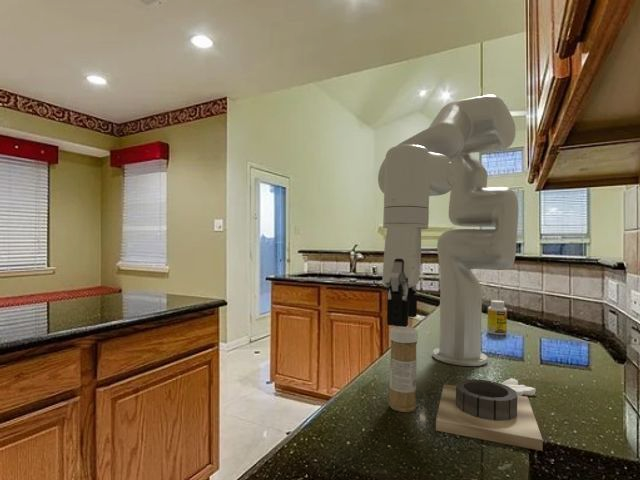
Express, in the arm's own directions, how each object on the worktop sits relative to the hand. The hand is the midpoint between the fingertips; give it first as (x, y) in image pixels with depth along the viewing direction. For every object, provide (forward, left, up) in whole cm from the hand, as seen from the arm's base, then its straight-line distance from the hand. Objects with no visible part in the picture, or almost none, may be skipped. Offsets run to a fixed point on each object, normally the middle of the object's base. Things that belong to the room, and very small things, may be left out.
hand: (402, 320), depth 65 cm
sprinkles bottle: (-1, 0, -15) cm, 15 cm away
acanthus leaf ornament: (-18, +18, -16) cm, 30 cm away
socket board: (-3, +13, -15) cm, 20 cm away
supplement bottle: (-69, +18, -15) cm, 72 cm away
